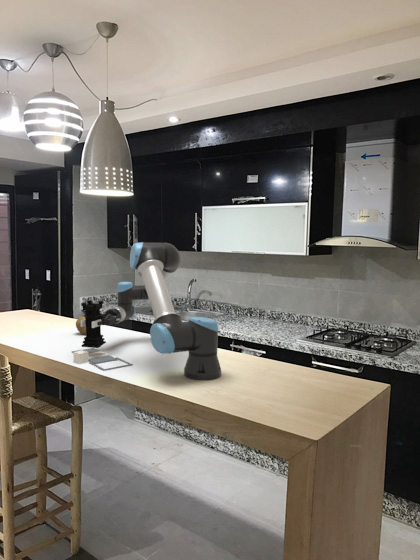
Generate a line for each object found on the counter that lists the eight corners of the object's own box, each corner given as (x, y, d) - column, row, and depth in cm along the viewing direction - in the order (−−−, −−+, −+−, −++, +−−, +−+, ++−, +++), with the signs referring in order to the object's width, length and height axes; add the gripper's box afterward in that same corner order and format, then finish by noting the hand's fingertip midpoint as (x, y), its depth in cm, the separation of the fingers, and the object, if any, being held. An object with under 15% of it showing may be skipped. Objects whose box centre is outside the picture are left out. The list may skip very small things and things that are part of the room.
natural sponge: (82, 331, 256) (82, 314, 255) (96, 333, 253) (95, 315, 252) (72, 334, 247) (72, 317, 246) (86, 336, 244) (85, 318, 243)
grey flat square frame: (132, 365, 193) (132, 364, 193) (103, 370, 184) (103, 369, 184) (117, 358, 203) (117, 357, 203) (89, 363, 195) (89, 362, 195)
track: (117, 360, 201) (117, 358, 200) (94, 364, 193) (94, 363, 193) (93, 348, 219) (93, 347, 219) (71, 352, 212) (71, 351, 212)
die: (88, 362, 197) (88, 351, 196) (79, 364, 193) (79, 353, 193) (82, 360, 200) (82, 349, 199) (73, 362, 196) (73, 351, 196)
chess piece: (97, 348, 201) (96, 304, 198) (81, 346, 203) (79, 303, 200) (105, 342, 209) (104, 300, 206) (89, 341, 210) (88, 299, 207)
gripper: (130, 324, 219) (104, 334, 197) (99, 321, 225) (69, 330, 203) (131, 309, 218) (104, 317, 196) (99, 306, 224) (69, 314, 202)
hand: (86, 324), depth 200 cm, fingers closed on chess piece, 5 cm apart
